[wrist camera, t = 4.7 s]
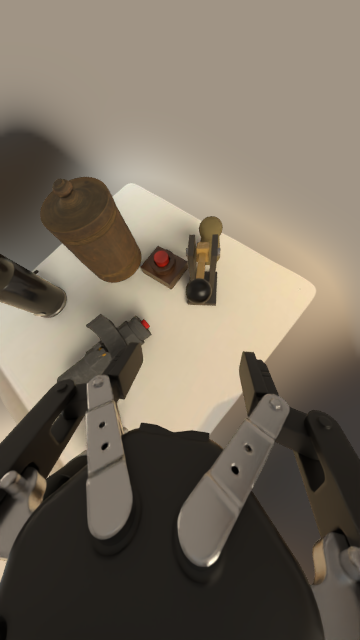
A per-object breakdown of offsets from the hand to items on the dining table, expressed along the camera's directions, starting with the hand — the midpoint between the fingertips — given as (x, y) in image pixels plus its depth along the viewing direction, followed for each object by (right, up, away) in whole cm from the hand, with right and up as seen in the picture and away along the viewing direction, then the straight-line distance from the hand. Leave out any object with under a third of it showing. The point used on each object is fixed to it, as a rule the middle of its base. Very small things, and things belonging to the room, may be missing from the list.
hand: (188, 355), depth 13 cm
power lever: (+3, +10, +14) cm, 17 cm away
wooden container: (-19, +20, +37) cm, 46 cm away
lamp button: (-5, +18, +30) cm, 35 cm away
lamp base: (-5, +17, +34) cm, 38 cm away
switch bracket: (+5, +11, +31) cm, 33 cm away
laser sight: (-17, -6, +29) cm, 34 cm away
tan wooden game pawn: (+7, +21, +34) cm, 40 cm away
